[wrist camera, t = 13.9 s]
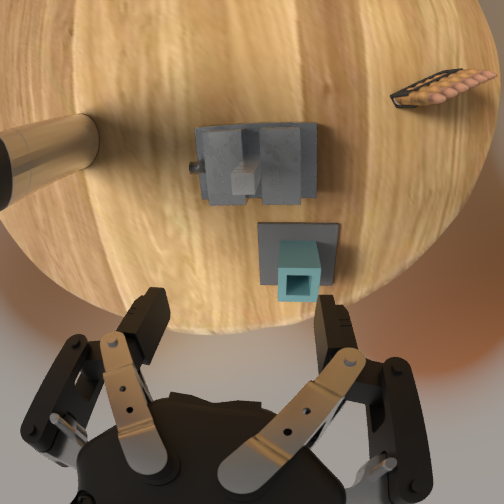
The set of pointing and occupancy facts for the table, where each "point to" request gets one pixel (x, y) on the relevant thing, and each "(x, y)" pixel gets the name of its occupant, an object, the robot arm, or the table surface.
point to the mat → (296, 232)
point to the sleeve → (298, 271)
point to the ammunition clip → (440, 87)
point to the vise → (257, 162)
